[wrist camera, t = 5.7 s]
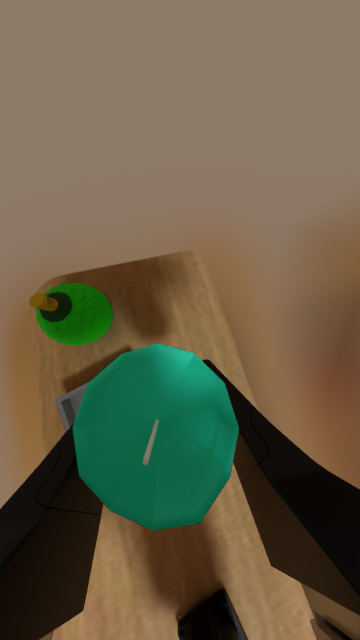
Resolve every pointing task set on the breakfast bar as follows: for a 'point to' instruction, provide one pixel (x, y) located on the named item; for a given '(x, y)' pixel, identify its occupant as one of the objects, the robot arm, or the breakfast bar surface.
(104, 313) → the ornament
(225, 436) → the candle
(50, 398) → the breakfast bar surface
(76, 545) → the robot arm
